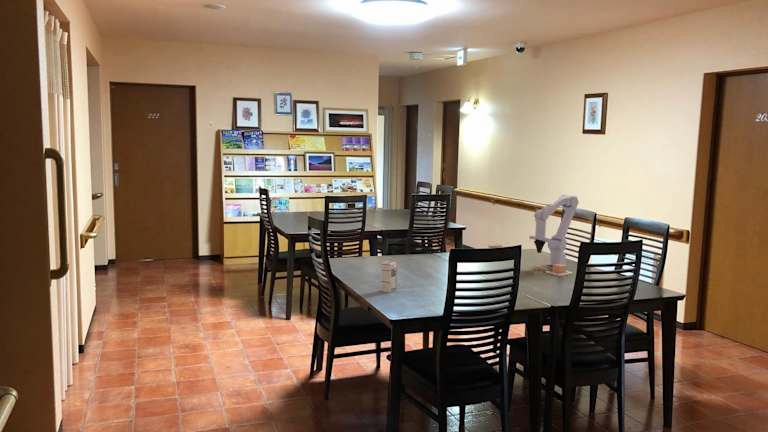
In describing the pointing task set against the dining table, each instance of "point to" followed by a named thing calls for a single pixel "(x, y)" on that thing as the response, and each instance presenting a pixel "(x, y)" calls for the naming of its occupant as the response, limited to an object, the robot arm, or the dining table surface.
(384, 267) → the syrup box
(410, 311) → the dining table surface
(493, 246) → the supplement box
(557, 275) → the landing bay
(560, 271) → the terracotta block
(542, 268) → the parallel wooden rails
